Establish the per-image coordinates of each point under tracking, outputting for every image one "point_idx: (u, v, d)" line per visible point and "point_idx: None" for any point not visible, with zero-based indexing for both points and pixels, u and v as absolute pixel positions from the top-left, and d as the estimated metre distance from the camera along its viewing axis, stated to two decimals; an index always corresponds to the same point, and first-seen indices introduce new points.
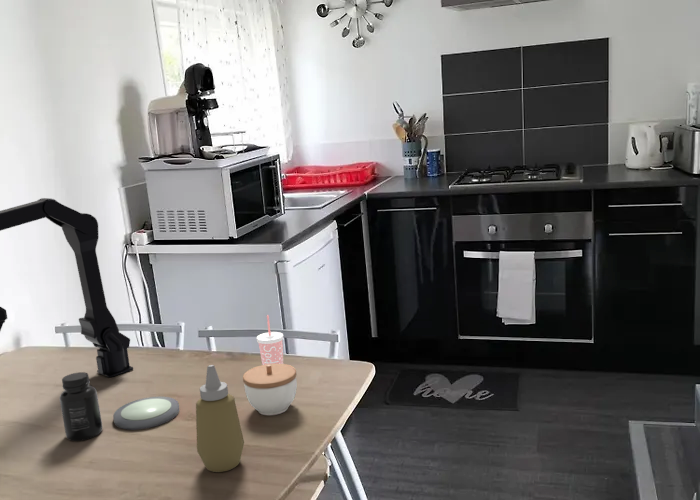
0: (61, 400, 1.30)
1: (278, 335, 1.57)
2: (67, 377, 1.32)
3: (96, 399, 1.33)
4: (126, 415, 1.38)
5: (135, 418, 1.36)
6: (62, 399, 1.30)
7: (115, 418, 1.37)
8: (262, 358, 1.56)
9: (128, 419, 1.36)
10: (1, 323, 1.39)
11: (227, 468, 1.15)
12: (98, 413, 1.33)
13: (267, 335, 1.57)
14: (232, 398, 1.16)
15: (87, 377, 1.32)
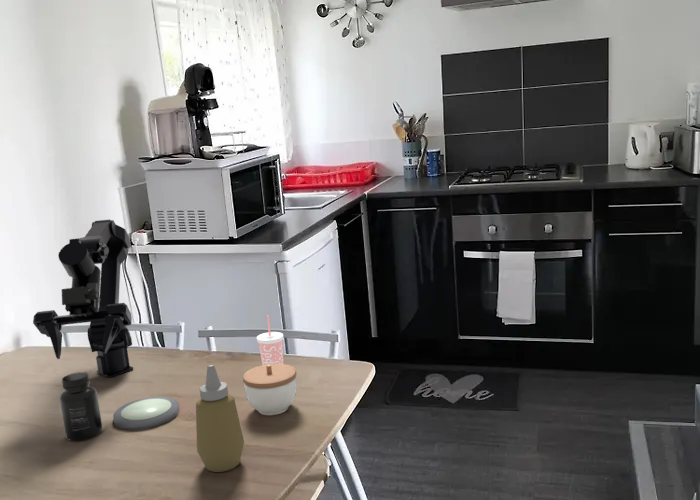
0: (61, 400, 1.30)
1: (278, 335, 1.57)
2: (67, 377, 1.32)
3: (96, 399, 1.33)
4: (126, 415, 1.38)
5: (135, 418, 1.36)
6: (62, 399, 1.30)
7: (115, 418, 1.37)
8: (262, 358, 1.56)
9: (128, 419, 1.36)
10: (124, 327, 1.46)
11: (227, 468, 1.15)
12: (98, 413, 1.33)
13: (267, 335, 1.57)
14: (232, 398, 1.16)
15: (87, 377, 1.32)
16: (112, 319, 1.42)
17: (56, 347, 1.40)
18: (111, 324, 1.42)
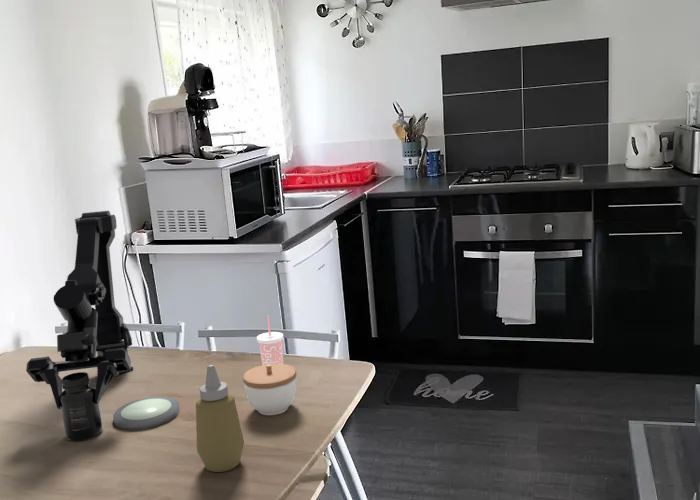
0: (61, 400, 1.30)
1: (278, 335, 1.57)
2: (67, 377, 1.32)
3: None
4: (126, 415, 1.38)
5: (135, 418, 1.36)
6: (62, 399, 1.30)
7: (115, 418, 1.37)
8: (262, 358, 1.56)
9: (128, 419, 1.36)
10: (117, 374, 1.38)
11: (227, 468, 1.15)
12: (98, 413, 1.33)
13: (267, 335, 1.57)
14: (232, 398, 1.16)
15: (87, 377, 1.32)
16: (105, 366, 1.34)
17: (57, 396, 1.32)
18: (104, 372, 1.34)
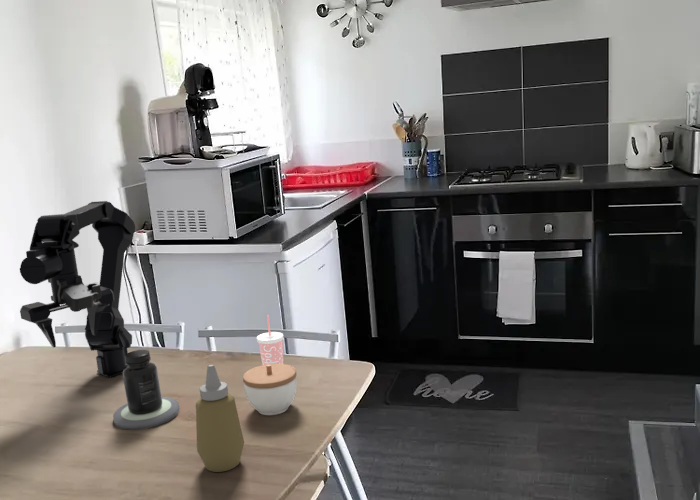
0: (129, 376, 1.36)
1: (278, 335, 1.57)
2: (130, 355, 1.38)
3: None
4: (126, 415, 1.38)
5: (135, 418, 1.36)
6: (130, 375, 1.36)
7: (115, 418, 1.37)
8: (262, 358, 1.56)
9: (128, 419, 1.36)
10: None
11: (227, 468, 1.15)
12: (159, 386, 1.41)
13: (267, 335, 1.57)
14: (232, 398, 1.16)
15: None
16: (103, 307, 1.53)
17: (53, 339, 1.47)
18: (101, 310, 1.53)
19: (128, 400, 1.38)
